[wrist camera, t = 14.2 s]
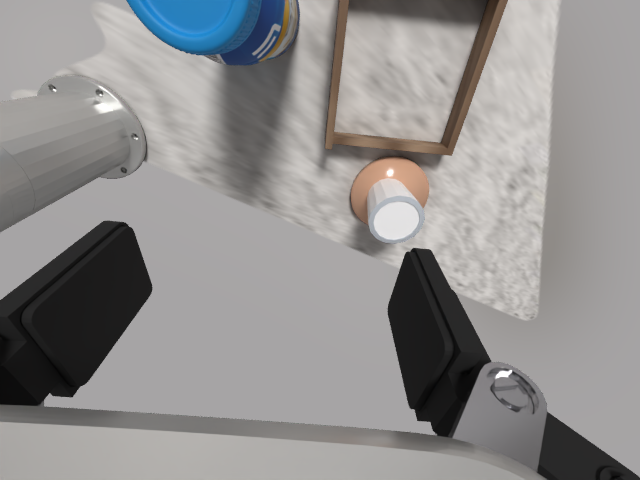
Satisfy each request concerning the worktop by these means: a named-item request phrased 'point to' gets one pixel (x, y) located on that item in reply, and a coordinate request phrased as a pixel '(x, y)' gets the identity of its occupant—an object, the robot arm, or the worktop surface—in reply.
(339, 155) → the worktop surface
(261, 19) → the beverage bottle
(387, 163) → the tan flat disc
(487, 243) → the worktop surface
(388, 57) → the worktop surface
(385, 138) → the frame
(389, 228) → the white cup
